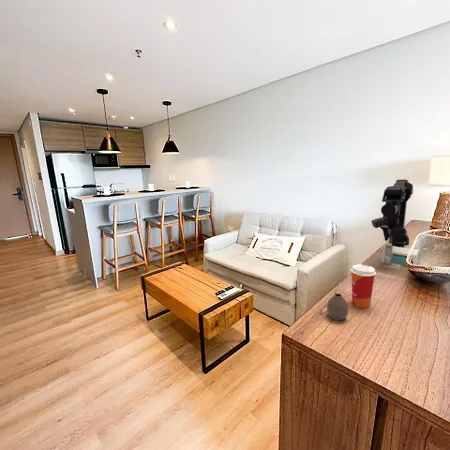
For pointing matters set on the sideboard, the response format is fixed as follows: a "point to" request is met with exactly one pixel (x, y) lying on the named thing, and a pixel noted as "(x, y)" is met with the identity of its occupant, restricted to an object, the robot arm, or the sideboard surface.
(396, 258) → the block
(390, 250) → the sled
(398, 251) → the tunnel
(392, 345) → the sideboard surface
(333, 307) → the vase
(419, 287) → the sideboard surface
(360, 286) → the coffee cup
